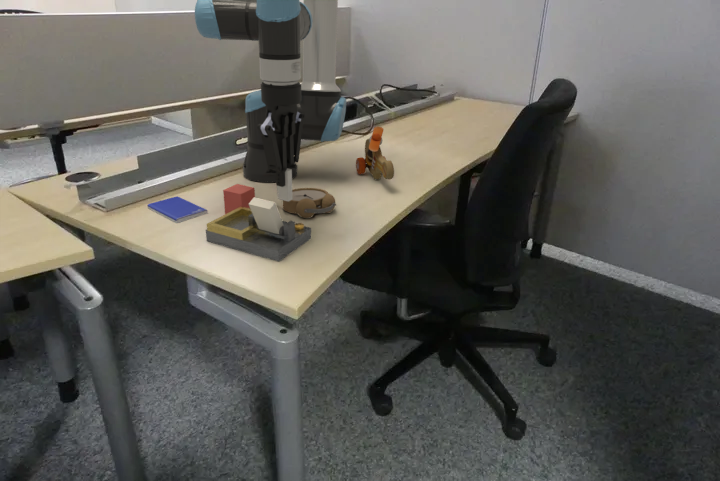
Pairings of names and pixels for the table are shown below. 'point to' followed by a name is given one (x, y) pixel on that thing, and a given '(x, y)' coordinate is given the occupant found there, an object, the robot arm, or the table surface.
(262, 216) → the toggle
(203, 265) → the table surface
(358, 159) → the wheeled toy
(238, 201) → the red toy cube
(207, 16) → the robot arm
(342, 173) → the table surface
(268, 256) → the panel
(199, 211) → the blue book
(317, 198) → the alarm clock
